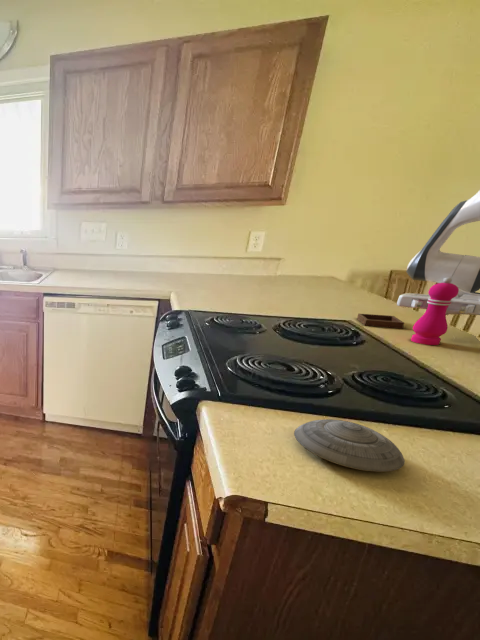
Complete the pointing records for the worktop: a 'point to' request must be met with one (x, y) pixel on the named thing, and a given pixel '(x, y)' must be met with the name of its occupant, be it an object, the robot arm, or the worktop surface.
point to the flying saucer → (349, 445)
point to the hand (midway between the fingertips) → (440, 307)
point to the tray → (380, 320)
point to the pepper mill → (435, 314)
